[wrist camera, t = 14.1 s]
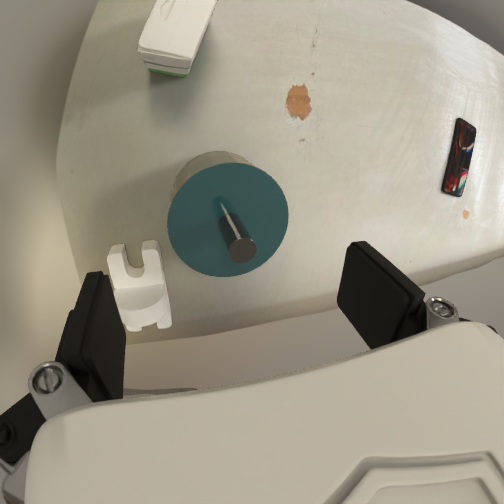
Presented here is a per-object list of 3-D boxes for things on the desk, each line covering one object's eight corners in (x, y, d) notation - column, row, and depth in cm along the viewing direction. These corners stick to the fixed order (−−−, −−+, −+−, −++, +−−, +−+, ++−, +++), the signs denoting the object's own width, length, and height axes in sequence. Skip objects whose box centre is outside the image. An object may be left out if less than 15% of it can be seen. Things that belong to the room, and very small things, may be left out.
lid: (154, 262, 30) (152, 298, 25) (188, 145, 26) (193, 156, 20) (261, 283, 35) (279, 318, 30) (304, 183, 31) (334, 203, 25)
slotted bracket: (109, 245, 36) (97, 276, 30) (158, 239, 38) (156, 269, 31) (129, 320, 42) (125, 357, 36) (172, 316, 44) (174, 352, 37)
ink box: (187, 79, 29) (193, 64, 19) (146, 70, 28) (133, 52, 17) (211, 17, 26) (228, -20, 16) (171, 8, 24) (171, -33, 14)
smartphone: (477, 128, 41) (461, 197, 47) (474, 127, 42) (459, 196, 48) (459, 116, 39) (442, 192, 45) (456, 116, 40) (440, 190, 46)
